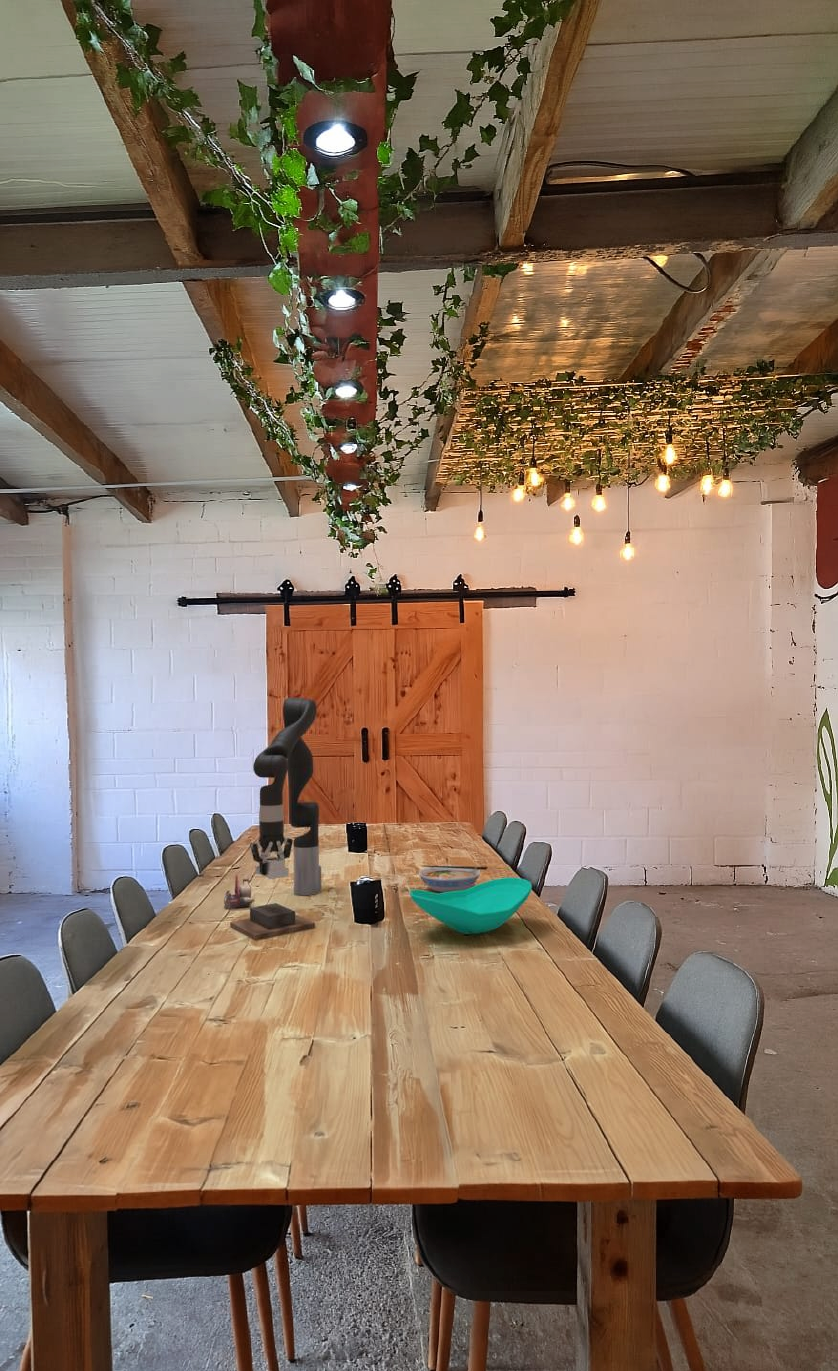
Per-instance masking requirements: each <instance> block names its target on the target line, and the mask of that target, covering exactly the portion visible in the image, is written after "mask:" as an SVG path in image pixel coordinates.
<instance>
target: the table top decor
mask: <svg viewBox="0 0 838 1371" xmlns="http://www.w3.org/2000/svg"><path fill="white" fill-rule="evenodd" d="M532 889H533V885H532V882H530V881H528V880H527V879H526V878H525V879H524V878H520V877H508V876H507V877H501V878H494V879H491V880H488V881H484V882H481V883H478V884H476V885H472V886H471V887H470V888H468V889H466V890H461V891H452V892H445V893H440V892H439V893H437V892H431V891H428V890H424V889H423V890H422V889H411V890H410V891H409V895H410V897H411V900H412V901H413V902H414V903H415V904H416V905H417V906H418V907H419V908H420V909H421V910H422V911H424V912H425V913H427V914H428V915H430V916H431V917H432V918H434V919H436V920H437V921H439V922H441V923H442V924H444V925H445V926H448V928H451V929H453V930H454V931H456V932H457V933H460V934H465V935H478V934H483V933H486V932H491V931H493V930H496V929H498V928H500V927H501V926H502V925H503V924H504V923H506V922H507V921H508V920H509V919H510V918H511V917H512V916H513V915H515V913H517V911H518V910H519V909H520V907H521V906H522V905H523V904H524V903H525V902H526V901H527V900H528V897H529V896H530V894H531V892H532Z"/></svg>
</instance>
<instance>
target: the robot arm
mask: <svg viewBox="0 0 838 1371" xmlns="http://www.w3.org/2000/svg"><path fill="white" fill-rule="evenodd" d="M317 708H318V707H317V703H316V701H315V700H313V699H310V698H309V699H308V698H303V697H302V698H301V697H287V698H285V700H284V701H283V704H282V718H283V727H284V728H283V729H281V730H280V731H279V732H277V734H275V737H274V738H273V739H272V741H271V743H270V745H269V746H267V747H266V748H264V749H263V751H261V752H260V753H259V754H258V755H257V756H256V758H255V760H254V762H253V765H252V766H253V767H252V768H253V772H254V774H255V775H256V776H257V777H259V778H262V779H266V778H269V779H271V778H272V779H273V782H272V783H271V784H267V785H263V786H261V787H260V789H259V811H258V812H259V813H258V821H259V823H258V828H259V829H258V830H259V831H258V834H259V838H258V841H254V842H250V843H249V847H250V850H251V853H252V854H251V855H252V860H253V861H254V862H256V863H258V864H259V863H260V873H261V874H262V875H261V876H263V875H266V860H267V857H270V856H269V855H270V853H272V852H274V853H275V854H276V857H278V858H281V859H284V860H285V861H286V859H288V858H290V856H291V852H292V846H293V894H295V896H296V895H297V896H313V895H317V894H318V893H322V865H320V844H319V843H320V842H319V827H320V826H319V825H320V824H319V822H320V806H319V804H318V802H316V801H299V798H300V796H301V793H302V792H303V790H304V788H305V787H306V786H307V784H308V783H309V782H310V780H311V779H312V776H313V774H314V757H313V753H312V751H311V750H310V749H311V748H310V747H309V746H308V744H307V743H306V742H305V741H304V739H303V738H302V736H304V735H305V733H306V732H308V730H309V728H310V727H311V726H312V725H313V724H314V722H315V720H316V718H317V711H318V710H317ZM286 777H287V779H288V780H287V781H288V791H289V792H288V793H289V794H288V820H289V824H290V827H293V828H309V830H308V831H306V832H305V833H304V834H301V835H298V836H296V837H295V838H294V839H292V838H290V837H285V836H284V832H285V829H284V827H285V823H284V822H285V821H284V804H283V802H284V800H283V796H284V794H283V793H284V792H283V791H284V786H285V782H286V781H285V780H286ZM283 845H284V847H282V846H283ZM260 847H261V849H260V852H259V848H260Z"/></svg>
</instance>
